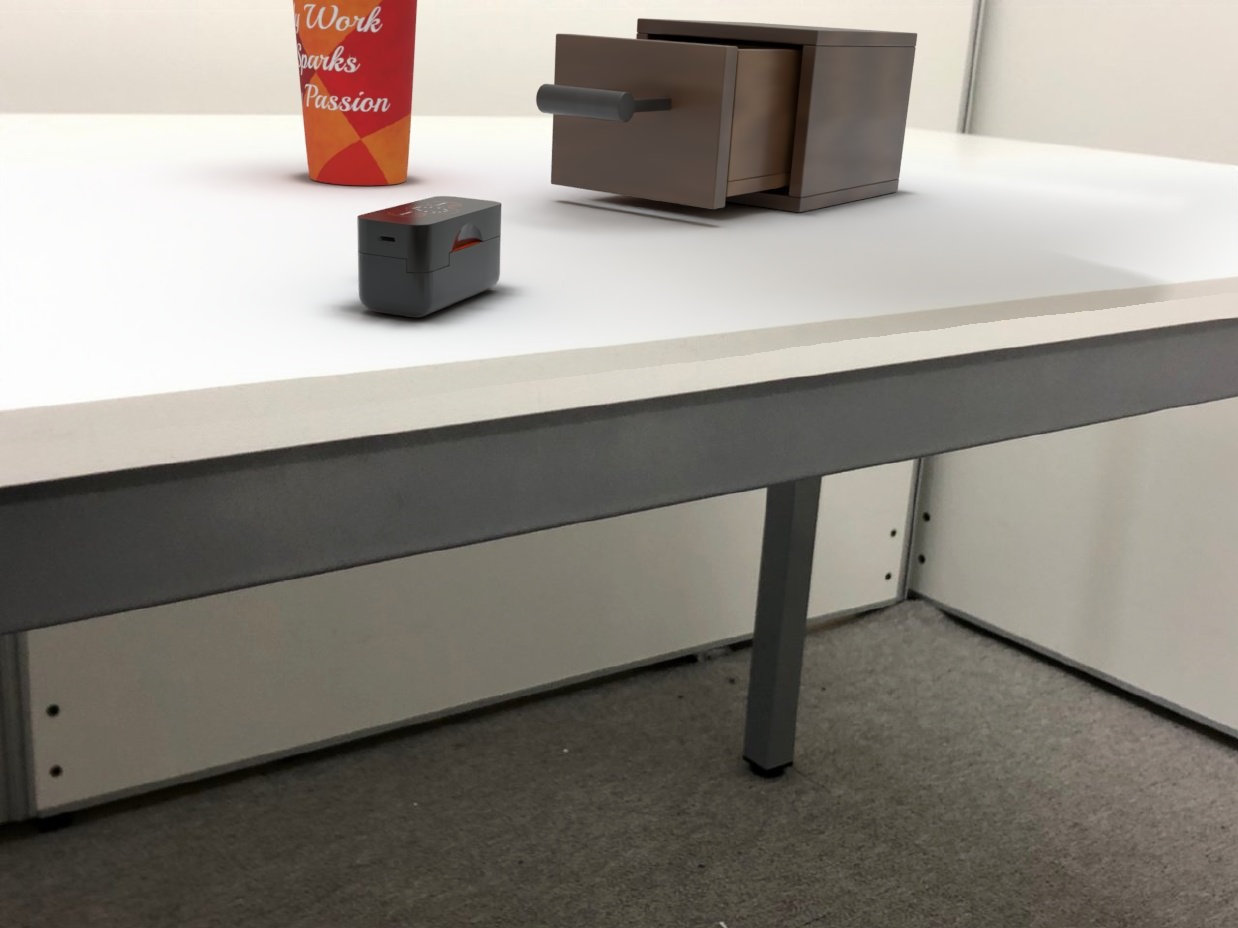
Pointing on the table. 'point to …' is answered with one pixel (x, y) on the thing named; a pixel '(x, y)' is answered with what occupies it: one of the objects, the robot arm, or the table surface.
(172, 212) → the table surface
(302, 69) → the paper cup
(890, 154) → the cabinet
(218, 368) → the table surface
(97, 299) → the table surface
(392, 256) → the wireless earbuds
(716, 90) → the drawer
